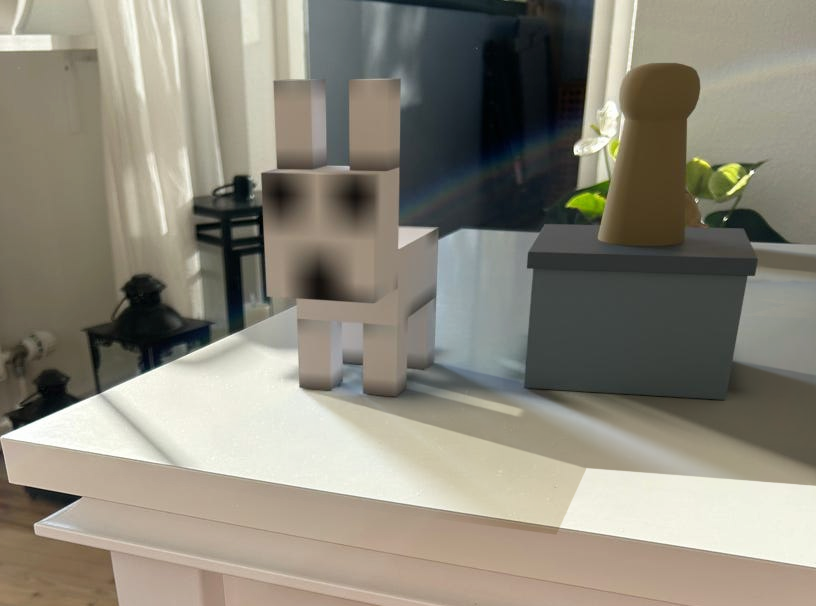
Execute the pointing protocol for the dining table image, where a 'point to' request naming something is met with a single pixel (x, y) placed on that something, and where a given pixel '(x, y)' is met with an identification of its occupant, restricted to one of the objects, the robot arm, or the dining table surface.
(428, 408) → the dining table surface
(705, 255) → the container
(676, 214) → the cork
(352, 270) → the blocky rabbit figurine
